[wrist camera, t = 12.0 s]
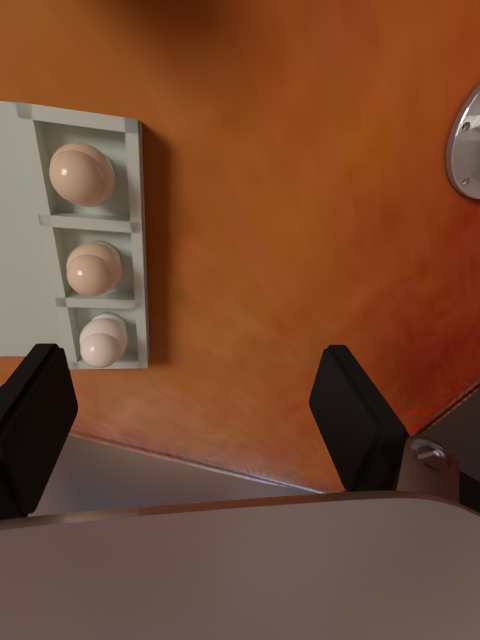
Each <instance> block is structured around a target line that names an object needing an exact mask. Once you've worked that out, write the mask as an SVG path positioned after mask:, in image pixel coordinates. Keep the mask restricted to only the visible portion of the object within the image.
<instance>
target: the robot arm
mask: <svg viewBox="0 0 480 640" xmlns="http://www.w3.org/2000/svg"><path fill="white" fill-rule="evenodd" d="M446 170H447V174H448V178H449V180H450V182H451V184H452V186H453V187H454V188H455V189H456V190H457V191H458V192H459V193H461V194H462V195H464V196H466V197H470V198H474V199H480V84H479V85H478V86H477V87H476V88H475V89H474V91H473V92H472V93H471V95H470V96H469V97H468V99H467V100H466V101H465V103H464V105H463V106H462V108H461V110H460V112H459V113H458V115H457V117H456V120H455V122H454V124H453V127H452V129H451V132H450V136H449V139H448V143H447V150H446ZM309 405H310V409H311V411H312V414H313V416H314V418H315V421H316V423H317V425H318V428H319V430H320V432H321V435H322V437H323V439H324V442H325V444H326V446H327V449H328V451H329V454H330V456H331V458H332V461H333V463H334V465H335V468H336V470H337V472H338V475H339V477H340V479H341V482H342V484H343V486H344V488H345V489H347V490H348V489H349V491H350V492H340V493H323V494H309V495H295V496H281V497H267V498H255V499H254V498H253V499H241V500H226V501H213V502H201V503H187V504H174V505H161V506H150V507H138V508H124V509H112V510H101V511H87V512H75V513H65V514H54V515H44V516H34V517H27V516H28V514H29V513H33V512H34V511H35V510H36V508H37V506H38V503H39V501H40V499H41V496H42V494H43V492H44V489H45V487H46V485H47V482H48V480H49V478H50V475H51V473H52V471H53V469H54V466H55V464H56V461H57V459H58V457H59V455H60V452H61V450H62V448H63V445H64V443H65V441H66V438H67V436H68V434H69V431H70V429H71V427H72V425H73V422H74V420H75V418H76V415H77V411H78V403H77V399H76V395H75V391H74V387H73V383H72V379H71V375H70V371H69V367H68V362H67V358H66V354H65V351H64V349H63V348H59V346H58V345H57V344H55V343H38V344H36V345H35V346H34V347H33V348H32V349H31V351H30V352H29V353H28V354H27V356H26V357H25V358H24V360H23V361H22V362H21V363H20V365H19V366H18V367H17V369H16V370H15V371H14V372H13V374H12V375H11V376H10V378H9V379H8V380H7V381H6V383H5V384H3V385H2V386H1V387H0V640H480V482H479V481H477V480H476V479H474V478H472V477H470V476H468V475H466V474H464V473H463V472H461V471H459V465H458V461H457V460H456V458H455V456H454V455H453V454H452V453H451V451H450V450H449V449H448V448H447V447H445V446H444V445H443V444H441V443H440V442H438V441H436V440H435V439H433V438H430V437H427V436H423V435H412V436H410V435H409V434H408V432H407V431H406V428H405V426H404V425H403V424H402V422H401V421H400V419H399V418H398V417H397V415H396V414H395V413H394V411H393V410H392V408H391V407H390V406H389V404H388V403H387V402H386V400H385V399H384V397H383V396H382V395H381V393H380V392H379V391H378V389H377V388H376V386H375V385H374V384H373V382H372V381H371V380H370V378H369V377H368V375H367V374H366V373H365V371H364V370H363V369H362V367H361V366H360V364H359V363H358V362H357V360H356V359H355V358H354V356H353V355H352V353H351V352H350V351H349V349H348V348H347V347H346V346H345V345H329V347H328V348H327V349H324V351H323V354H322V357H321V361H320V364H319V368H318V371H317V375H316V378H315V382H314V385H313V388H312V392H311V395H310V399H309Z"/></svg>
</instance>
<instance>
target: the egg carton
mask: <svg viewBox="0 0 480 640" xmlns="http://www.w3.org/2000/svg"><path fill="white" fill-rule="evenodd" d="M73 142H80V143H85V144H88V145H91V146H93V147H95V148H96V149H98V150H99V151H101V152H102V153H103V154H104V155H105V156H106V157H107V158H108V159H109V160H110V161H111V163H112V165H113V167H114V169H115V173H116V186H115V190H114V193H113V195H112V196H111V198H110V199H109V200H108V201H107V202H106V203H104V204H102V205H100V206H97V207H81V206H78V205H75V204H73V203H71V202H69V201H67V200H66V199H64V198H63V197H62V196H60V195H59V194H58V193H57V191H56V190H55V189H54V187H53V185H52V183H51V180H50V176H49V168H50V161H51V158H52V156H53V154H54V153H55V152H56V150H57V149H58V148H60V147H61V146H63V145H65V144H68V143H73ZM95 240H101V241H105V242H108V243H110V244H112V245H113V246H114V247H116V248H117V250H118V251H119V252H120V254H121V257H122V268H123V273H122V277H121V280H120V282H119V283H118V285H117V286H116V287H115V288H114V289H112V290H111V291H109V292H106V293H104V294H102V295H99V296H95V297H89V296H84V295H81V294H79V293H77V292H76V291H75V290H74V289H73V288H72V287H71V286H70V284H69V282H68V280H67V268H66V264H67V260H68V257H69V255H70V254H71V252H72V251H73V250H74V249H75V248H77V247H78V246H80V245H82V244H86V243H89V242H91V241H95ZM102 312H112V313H116V314H118V315H120V316H121V317H122V318H123V319H124V320H125V321H126V323H127V326H128V330H127V334H128V345H127V348H126V350H125V351H124V353H123V354H122V355H121V356H120V357H119V358H118V359H117V360H116V362H114V363H113V364H112V365H110V366H108V367H105V368H95V367H92V366H90V365H88V364H87V363H86V362H85V361H84V360H83V359H82V356H81V353H80V348H81V347H80V343H79V339H80V334H81V332H82V330H83V328H84V327H85V326H86V325H87V324H88V323H89V322H91V320H92V319H93V317H94V316H96V315H97V314H99V313H102ZM38 343H55V344H57V345H58V346H59V348H63V349H64V351H65V354H66V358H67V362H68V367H69V369H122V368H148V362H149V355H150V346H149V317H148V289H147V260H146V231H145V202H144V174H143V145H142V122H141V121H139V120H138V119H131V118H124V117H117V116H110V115H103V114H97V113H90V112H83V111H76V110H69V109H63V108H56V107H49V106H42V105H35V104H28V103H22V102H15V103H11V102H4V101H0V356H27V354H28V353H29V352H30V351H31V349H32V348H33V347H34V346H35V345H36V344H38Z"/></svg>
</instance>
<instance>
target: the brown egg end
mask: <svg viewBox="0 0 480 640" xmlns="http://www.w3.org/2000/svg"><path fill="white" fill-rule="evenodd" d="M49 176H50V180H51V183H52V185H53V187H54V189H55V190H56V191H57V193H58V194H59V195H60V196H62V197H63V198H64V199H66V200H67V201H69V202H71V203H73V204H75V205H78V206H81V207H97V206H100V205H102V204H104V203H106V202H107V201H108V200H109V199H110V198H111V196H112V195H113V193H114V190H115V186H116V173H115V169H114V167H113V165H112V163H111V161H110V160H109V159H108V158H107V157H106V156H105V155H104V154H103V153H102V152H101V151H99V150H98V149H96V148H95V147H93V146H91V145H88V144H85V143H80V142H73V143H68V144H65V145H63V146H61V147H60V148H58V149H57V150H56V152H55V153H54V154H53V156H52V158H51V161H50V168H49Z"/></svg>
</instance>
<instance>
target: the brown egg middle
mask: <svg viewBox="0 0 480 640" xmlns="http://www.w3.org/2000/svg"><path fill="white" fill-rule="evenodd" d="M66 268H67V280H68V282H69V284H70V286H71V287H72V288H73V289H74V290H75V291H76V292H77V293H79V294H81V295H84V296H89V297H95V296H99V295H102V294H104V293H106V292H109V291H111V290H112V289H114V288H115V287H116V286H117V285H118V283H119V282H120V280H121V277H122V273H123V268H122V257H121V254H120V252H119V251H118V250H117V248H116V247H114V246H113V245H112V244H110V243H108V242H105V241H101V240H95V241H91V242H89V243H86V244H82V245H80V246H78V247H77V248H75V249H74V250H73V251H72V252H71V254H70V255H69V257H68V260H67V264H66Z"/></svg>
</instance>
